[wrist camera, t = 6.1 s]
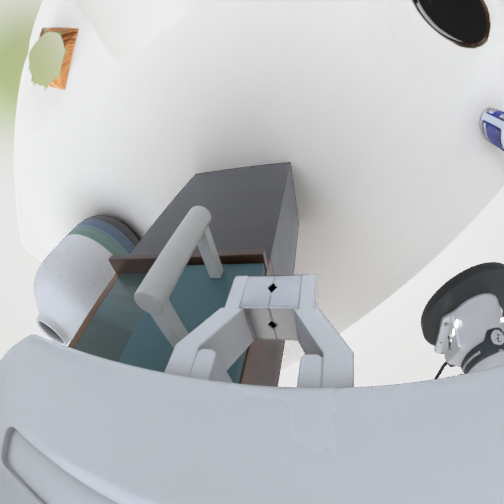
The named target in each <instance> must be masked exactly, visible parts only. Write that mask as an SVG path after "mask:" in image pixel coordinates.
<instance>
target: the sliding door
mask: <svg viewBox="0 0 504 504" xmlns="http://www.w3.org/2000/svg"><path fill="white" fill-rule="evenodd" d="M210 221H211V214H210V212H209V211H208V210H207V209H206V208H205V207H203V206H194V207H192V208H191V209H190V211H189V212H188V214H187V215H186V216H185V218H184V219H183V221H182V222H181V224H180V225H179V226H178V228H177V229H176V231H175V232H174V234H173V235H172V237H171V238H170V240H169V241H168V243H167V244H166V246H165V247H164V249H163V250H162V252H161V253H160V255H159V256H158V258H157V259H156V261H155V262H154V264H153V265H152V267H151V268H150V270H149V272H148V273H147V275H146V276H145V278H144V280H143V281H142V283H141V284H140V286H139V288H138V289H137V291H136V292H135V294H134V300H135V302H136V304H137V305H138V306H139V307H140V308H141V309H143V310H144V311H145V312H144V314H143V316H142V317H141V319H140V321H139V323H138V325H137V327H136V329H135V331H134V332H133V334H132V336H131V338H130V340H129V342H128V344H127V346H126V348H125V350H124V352H123V354H122V356H121V358H120V360H119V362H120V363H124V364H128V365H132V366H136V367H141V368H145V369H150V370H154V371H159V372H165V369H166V367H167V364H168V362H169V360H170V357H171V355H172V352H173V350H174V348H175V345H176V344H177V343H178V342H179V341H181V340H182V339H183V338H184V337H186V336H187V335H188V334H189V333H191V332H192V331H193V330H194V329H195V328H197V327H198V326H199V325H200V324H202V323H203V322H204V321H205V320H206V319H208V318H209V317H210V316H211V315H213V314H214V313H215V312H216V311H217V310H219V309H220V308H225V305H226V302H227V299H228V296H229V293H230V290H231V287H232V284H233V281H234V278H235V277H236V276H250V275H260V276H264V275H265V268H264V264H263V263H254V264H221V261H220V258H219V256H218V253H217V250H216V247H215V244H214V241H213V238H212V235H211V232H210V229H209V226H208V225H209V223H210ZM197 245H198V248H199V250H200V253H201V256H202V258H203V261H204V263H205V265H187V263H188V261H189V259H190V257H191V255H192V254H193V252H194V250H195V248H196V246H197ZM246 352H247V349H246V350H245V351H244V352H243V353H242V354H241V356H240V357H239V358H238V359H237V360H236V361H235V362H234V363H233V364H232V365H231V367H230V368H229V369H228V370H227V373H228V374H229V376H230V378H231V379H232V381H233V383H237V384H239V380H240V376H241V372H242V368H243V364H244V360H245V356H246Z"/></svg>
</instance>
